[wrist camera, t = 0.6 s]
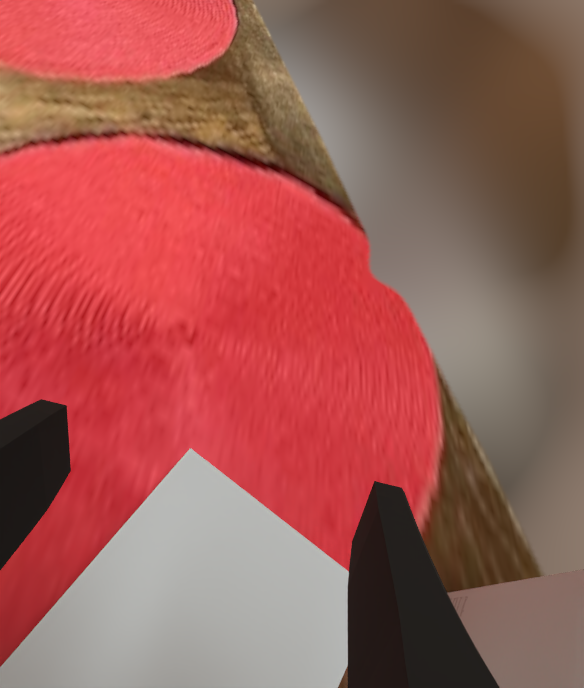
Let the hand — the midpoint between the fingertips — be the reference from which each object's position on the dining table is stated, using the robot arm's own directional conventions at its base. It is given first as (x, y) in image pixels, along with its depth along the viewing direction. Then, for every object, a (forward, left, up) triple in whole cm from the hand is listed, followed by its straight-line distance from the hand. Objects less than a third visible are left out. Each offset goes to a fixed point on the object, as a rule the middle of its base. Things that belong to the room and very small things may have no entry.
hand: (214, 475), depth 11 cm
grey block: (-1, -3, -17) cm, 18 cm away
